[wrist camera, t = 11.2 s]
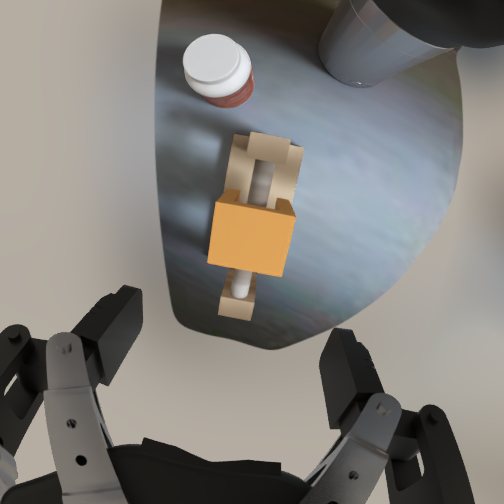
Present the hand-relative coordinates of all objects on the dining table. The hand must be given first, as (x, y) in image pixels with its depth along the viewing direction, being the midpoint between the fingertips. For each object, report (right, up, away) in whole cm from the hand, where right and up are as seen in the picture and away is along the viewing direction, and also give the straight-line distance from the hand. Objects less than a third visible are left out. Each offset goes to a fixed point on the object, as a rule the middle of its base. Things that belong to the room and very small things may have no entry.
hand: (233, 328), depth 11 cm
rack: (+1, +9, +22) cm, 24 cm away
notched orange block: (+1, +6, +17) cm, 18 cm away
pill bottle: (-2, +23, +17) cm, 28 cm away
